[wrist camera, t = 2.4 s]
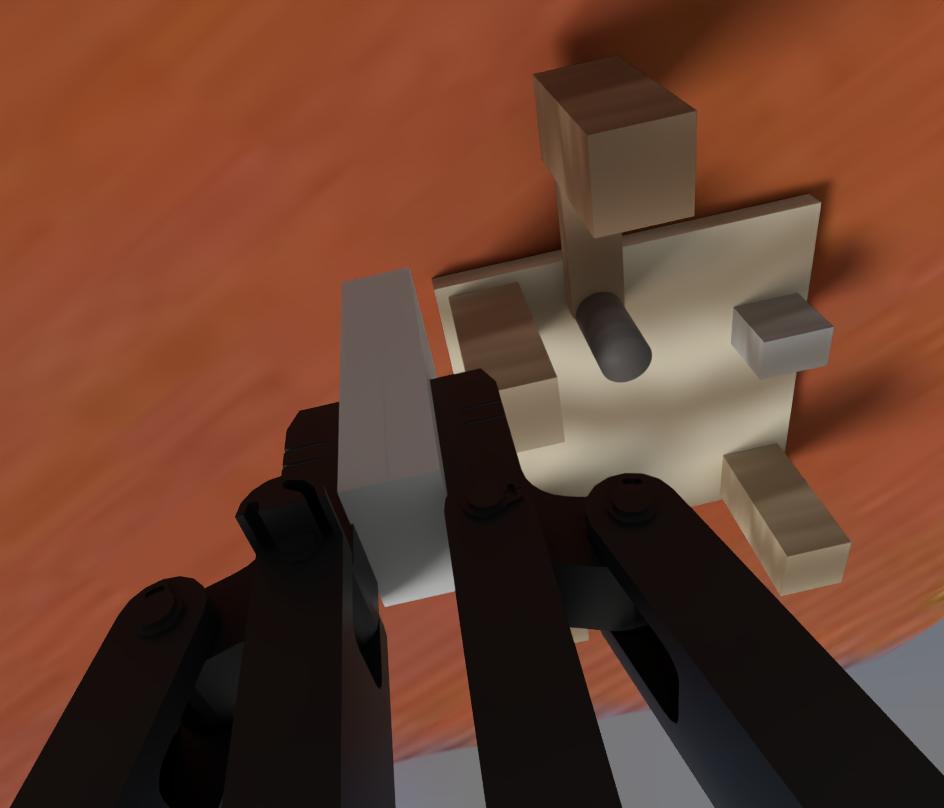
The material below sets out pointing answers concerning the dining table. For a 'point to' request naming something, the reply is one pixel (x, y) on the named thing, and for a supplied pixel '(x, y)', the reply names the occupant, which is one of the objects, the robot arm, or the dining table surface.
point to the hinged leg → (612, 188)
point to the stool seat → (669, 375)
